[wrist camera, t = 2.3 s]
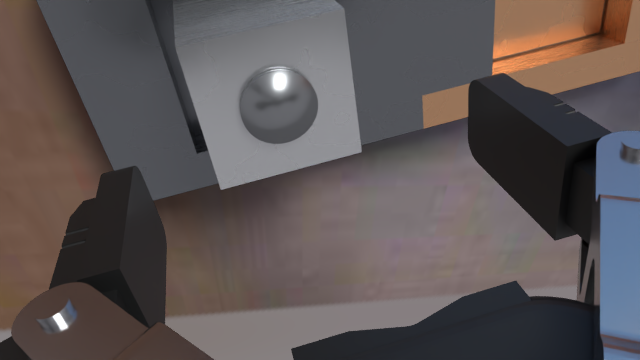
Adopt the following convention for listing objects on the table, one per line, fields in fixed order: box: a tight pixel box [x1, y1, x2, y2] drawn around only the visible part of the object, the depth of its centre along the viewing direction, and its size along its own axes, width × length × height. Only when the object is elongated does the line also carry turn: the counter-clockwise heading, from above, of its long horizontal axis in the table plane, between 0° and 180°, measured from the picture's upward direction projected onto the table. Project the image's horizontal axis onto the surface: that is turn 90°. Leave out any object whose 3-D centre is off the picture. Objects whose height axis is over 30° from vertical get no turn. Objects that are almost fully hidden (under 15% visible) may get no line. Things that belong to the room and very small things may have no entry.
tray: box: [37, 0, 640, 201], centre depth 20 cm, size 24×9×2 cm, turn 100°
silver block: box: [173, 0, 362, 190], centre depth 17 cm, size 4×4×6 cm
